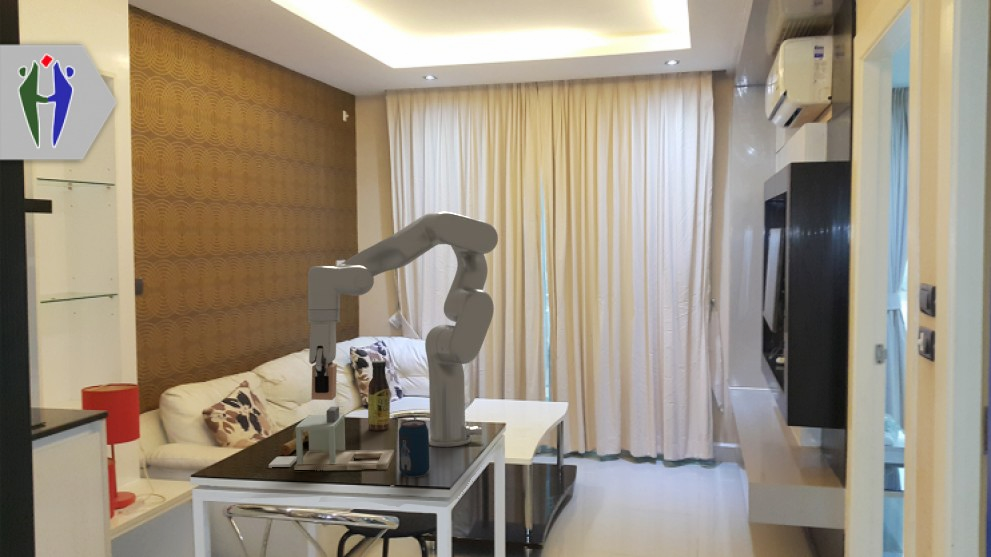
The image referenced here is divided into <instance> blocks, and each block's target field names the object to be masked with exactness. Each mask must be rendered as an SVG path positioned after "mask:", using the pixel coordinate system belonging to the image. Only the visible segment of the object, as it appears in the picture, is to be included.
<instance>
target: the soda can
mask: <svg viewBox="0 0 991 557" xmlns="http://www.w3.org/2000/svg"><path fill="white" fill-rule="evenodd" d="M429 435H430V428H428V425H427V421H425V420H421V419H420V420H419V419H410V420H405V421H402V422H401V423H400V427H399V429H398V459H399V462H398V463H399V470H400V473H401V474H402V476H403V477H405V476H406V477H405V478H412V477H413V478H420V477H421V478H422V477H425V476H426V475H427V474H428V472H429V470H430V445H429Z"/></svg>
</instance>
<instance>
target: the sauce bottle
mask: <svg viewBox="0 0 991 557" xmlns="http://www.w3.org/2000/svg"><path fill="white" fill-rule="evenodd" d="M371 367H372V378H371V379H370V381H369V384H368V393H367V398H368V399H367V414H368V415H367V423H368V430H371V431H374V432H375V431H385V430H388V429H389V428H390V423H391V422H390V421H391V420H390V419H391V412H390V411H391V407H390V406H391V405H390V404H391V398H390V397H391V394H390V393H391V392H390V390H391V389H390V387H389V383H388V380H387V376H386V375H387V374H386V367H387V362H386V361H385V360H372V362H371Z"/></svg>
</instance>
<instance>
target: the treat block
mask: <svg viewBox="0 0 991 557" xmlns="http://www.w3.org/2000/svg"><path fill="white" fill-rule="evenodd" d="M337 366H338V365H337V363H335V364H334V363H333V364H328V373H327V376H329V392H328V393H316V392H315V367H316V365H315V364H313V365H312V367H311V396H310V397H311V400H314V401H315V400H317V401H318V400H319V401H320V400H321V401H322V400H323V401H333V400H334V399H335V398H336V397H337V371H338V369H337V368H338V367H337ZM324 368H325V366H324ZM324 370H325V369H324Z"/></svg>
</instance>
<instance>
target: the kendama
mask: <svg viewBox="0 0 991 557" xmlns="http://www.w3.org/2000/svg"><path fill="white" fill-rule="evenodd" d="M302 439H303V443H304V442H305V441H307V442H309V430H302ZM295 450H296V427H295V428H294V430H293V433H292V440H289V441H287V442H286V443H284V444H282V445H281V446H280V453H281V454H282V455H283V456H290V454H292V452H294V451H295Z"/></svg>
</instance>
